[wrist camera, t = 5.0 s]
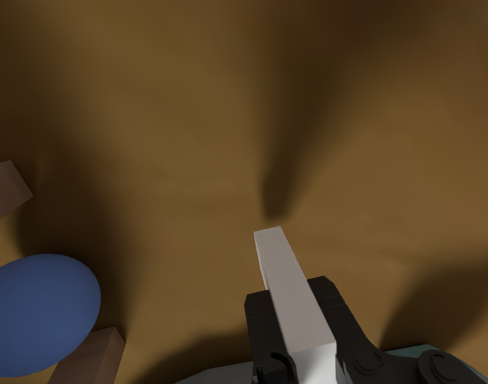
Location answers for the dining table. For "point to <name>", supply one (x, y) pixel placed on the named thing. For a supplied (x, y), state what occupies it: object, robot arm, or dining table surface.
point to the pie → (223, 375)
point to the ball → (44, 311)
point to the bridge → (97, 342)
